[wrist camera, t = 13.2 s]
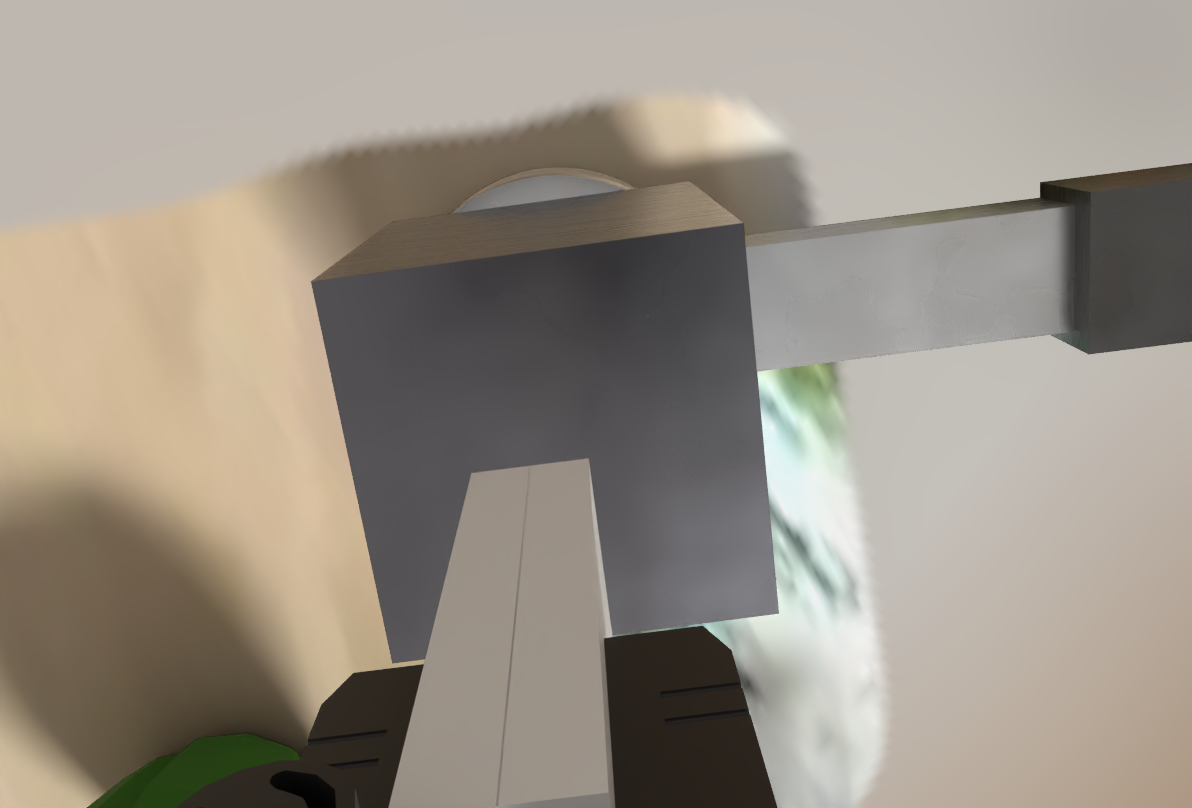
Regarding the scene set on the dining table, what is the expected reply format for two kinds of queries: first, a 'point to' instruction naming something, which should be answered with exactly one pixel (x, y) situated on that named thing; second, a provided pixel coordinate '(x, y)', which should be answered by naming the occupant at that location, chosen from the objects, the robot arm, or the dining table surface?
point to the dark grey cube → (559, 394)
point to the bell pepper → (192, 771)
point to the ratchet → (957, 269)
